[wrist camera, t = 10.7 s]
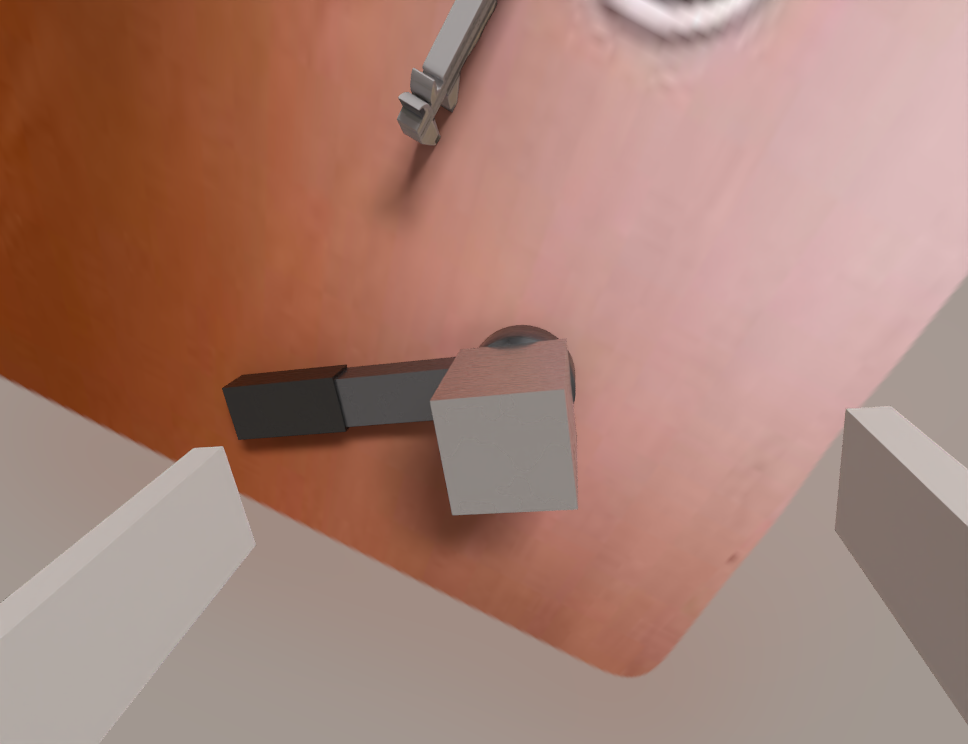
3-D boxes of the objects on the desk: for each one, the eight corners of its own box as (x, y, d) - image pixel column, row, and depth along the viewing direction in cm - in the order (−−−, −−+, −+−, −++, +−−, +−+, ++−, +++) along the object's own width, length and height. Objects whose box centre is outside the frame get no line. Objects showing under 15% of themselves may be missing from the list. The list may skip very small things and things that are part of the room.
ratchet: (235, 355, 35) (166, 395, 29) (569, 319, 32) (568, 357, 26) (262, 442, 37) (202, 496, 31) (580, 418, 34) (581, 475, 28)
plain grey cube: (460, 349, 30) (429, 400, 24) (566, 338, 29) (564, 389, 23) (476, 443, 32) (452, 515, 26) (577, 436, 31) (577, 509, 25)
